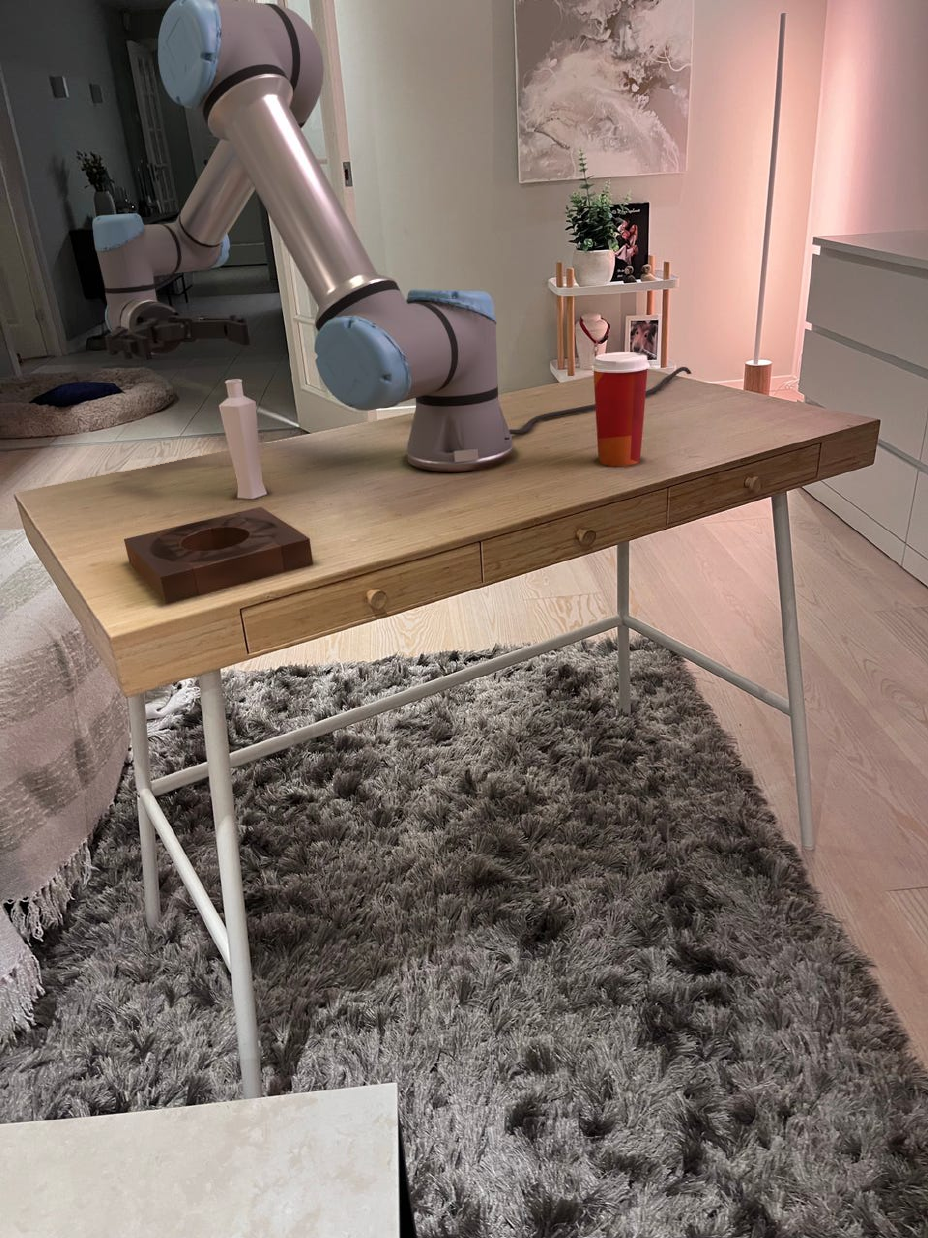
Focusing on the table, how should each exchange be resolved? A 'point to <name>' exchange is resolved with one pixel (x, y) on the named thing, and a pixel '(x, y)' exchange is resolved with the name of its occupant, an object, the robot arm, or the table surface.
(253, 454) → the perfume bottle
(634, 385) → the paper cup
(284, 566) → the socket pad
